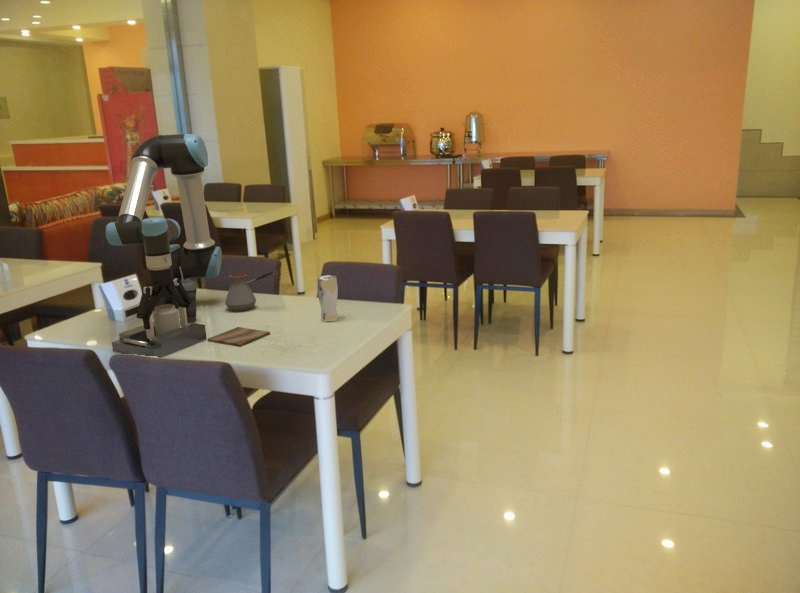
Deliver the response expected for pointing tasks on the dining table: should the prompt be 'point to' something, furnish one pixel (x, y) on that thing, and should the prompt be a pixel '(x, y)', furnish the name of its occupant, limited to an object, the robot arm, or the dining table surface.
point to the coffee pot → (241, 292)
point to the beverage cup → (191, 292)
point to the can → (165, 319)
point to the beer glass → (328, 297)
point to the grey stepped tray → (159, 340)
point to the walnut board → (238, 336)
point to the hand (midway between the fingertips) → (168, 332)
